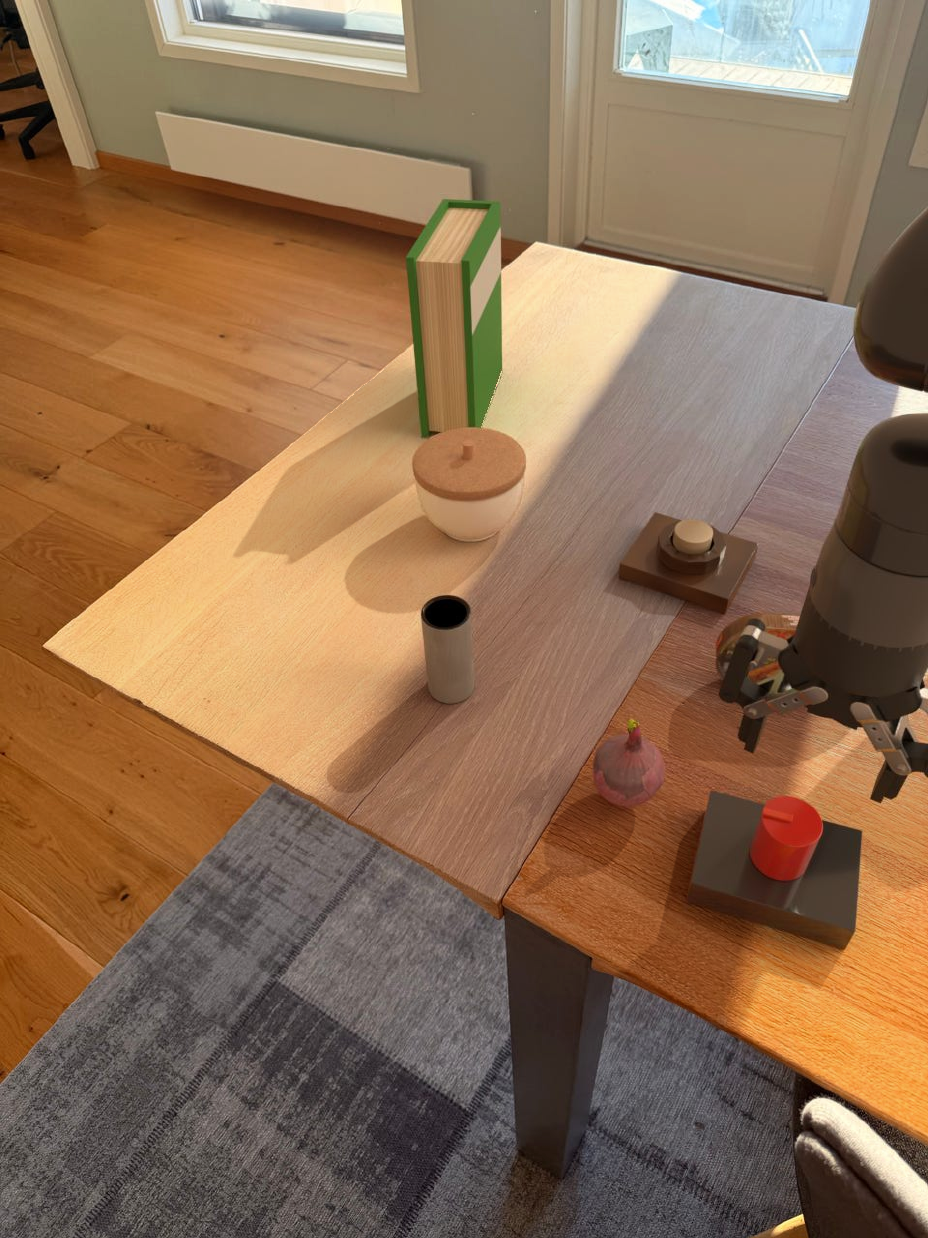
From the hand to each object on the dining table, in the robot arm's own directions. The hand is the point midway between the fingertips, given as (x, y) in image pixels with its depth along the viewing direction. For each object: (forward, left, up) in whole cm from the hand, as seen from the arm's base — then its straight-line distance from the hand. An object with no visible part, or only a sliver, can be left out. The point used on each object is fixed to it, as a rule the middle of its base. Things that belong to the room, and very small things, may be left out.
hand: (813, 766), depth 62 cm
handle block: (0, 0, -15) cm, 15 cm away
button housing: (+19, -32, -15) cm, 40 cm away
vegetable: (+13, -2, -15) cm, 20 cm away
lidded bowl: (+44, -28, -15) cm, 54 cm away
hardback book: (+58, -50, -15) cm, 78 cm away
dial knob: (0, 0, -12) cm, 12 cm away
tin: (+4, -21, -15) cm, 26 cm away
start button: (+19, -32, -11) cm, 39 cm away
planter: (+33, -5, -15) cm, 37 cm away
